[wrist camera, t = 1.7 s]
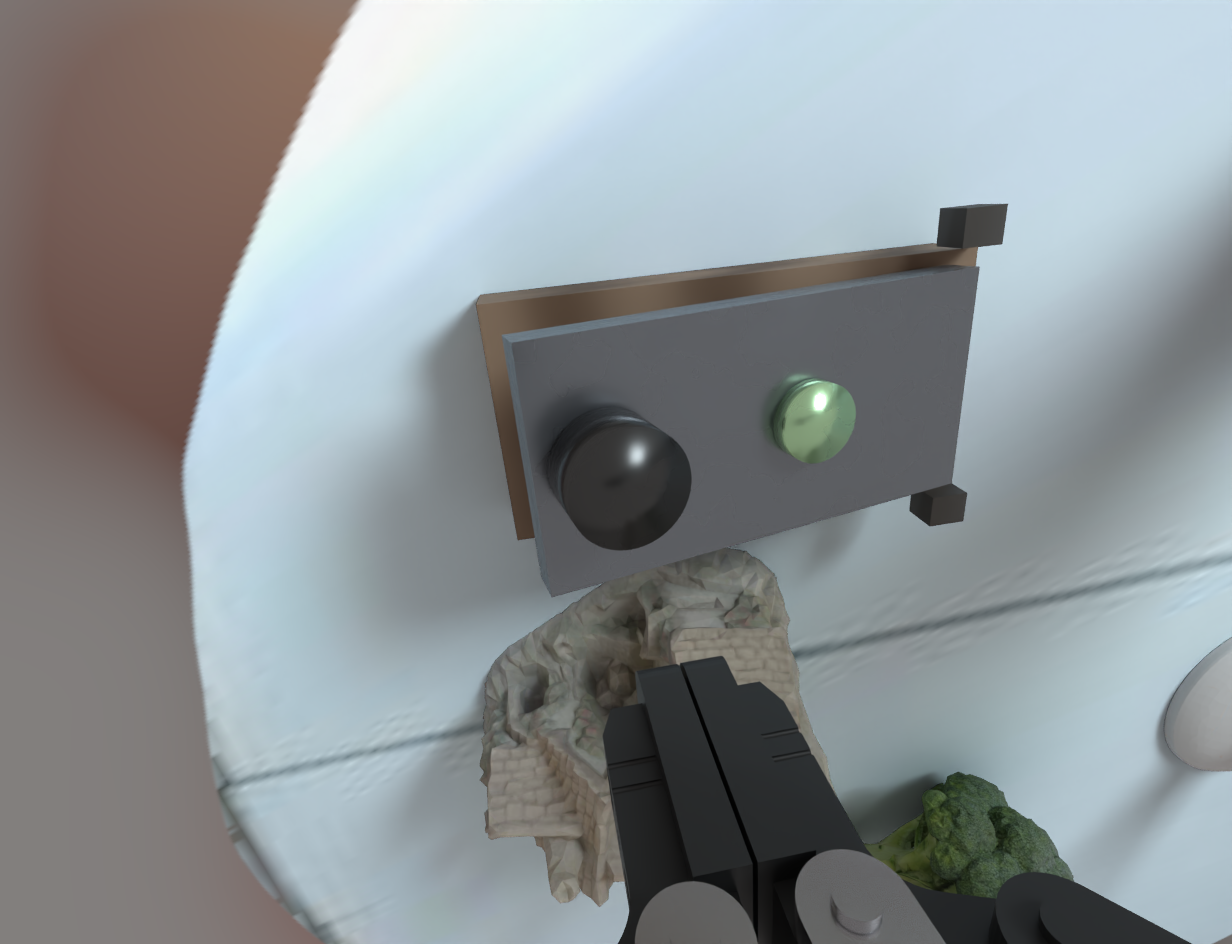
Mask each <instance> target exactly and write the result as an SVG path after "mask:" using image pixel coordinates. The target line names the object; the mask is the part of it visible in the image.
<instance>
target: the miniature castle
mask: <svg viewBox="0 0 1232 944" xmlns="http://www.w3.org/2000/svg"><path fill="white" fill-rule="evenodd" d="M789 621H790V619H789V617H788V614H787V612H786V609H785V604H784V600H783V597H782V594H781V592H780V590H779V587H778V584H777V577H775V575H774V573H773V572H771V571H770V570H769V569H768V568H767V567H766V566H765V565H764V564H763V563H762V562H761V561H760V560H759V559H757V558H755V557H752V556H751V555H750V554H749V553H748V552H747V551H742V550H734V549H729V548H723V549H719V550H716V551H712V552H709V553H705V554H702V555H698V556H695V557H691V558H688V559H684V560H681V561H677V562H674V563H670V564H667V565H663V566H660V567H656V568H653V569H649V570H646V571H642V572H639V573H635V574H632V575H628V576H625V577H621V578H618V579H614V580H610V581H607V582H605V583H603V584H602V585H601V586H600V587H599V588H595V589H594V590H593V591H591V592H590V593H588V594H587V595H585V596H584V597H582V598H581V599H580V600H579V601H578V602H575V603H572V604H571V605H570V606H569V607H568V608H567V609H566V610H564V611H563V613H561V614H558V615H556V616H555V617H554V618H553V619H550V620H549V621H547V622H546V623H544V624H543V625H541V626H540V627H538V628H536V630H534V631H533V632H532V633H529V634H528V635H526V636H525V637H524V638H522V639H520V640H519V641H517V642H515V643H514V644H512V645H510V646H509V647H508V648H507V649H506V650H505V651H504V652H503V653H502V654H501V655H500V656H499V657H498V658H497V659H496V660H495V662H494V664H493V665H492V668H491V670H490V672H489V674H488V680H487V682H486V683H485V688H486V689H485V700H486V704H487V705H486V708H485V711H484V714H483V715H484V716H483V719H484V724H483V729H484V733H485V735H484V737H483V738H482V744H483V753H482V757H481V760H480V767H481V768H482V769H483V771H484V774H483V775H482V777H481V779H480V781H481V782H482V783H483V784H484V785H485V786H487V797H488V810H487V811H486V812H485V821H486V827H485V831H486V833H488V838H489V839H491V840H492V839H496V838H500V837H522V836H534V837H535V840H536V845H537V846H539V847H542V848H543V850H544V851H545V853H546V861H547V868H548V878H549V884H550V889H551V893H552V896H554V897H555V898H556V899H557V900H558V901H559V902H560V903H565V902H570V901H571V900H573V899H574V898H575V897H576V896H577V894H578V893H579V892H580V889H581V891H582V893H584V894H585V895H587V896H588V897H590V898H591V899H592V900H593V901H594V902H595V903H596V904H597V905H598V906H599V907H600V906H601V905H602V904H603V903H605V902H606V901H607V900H608V895H609V888H610V887H611V885H612V884H613V882H619V881H624V875H623V869H622V863H621V857H620V851H619V845H618V839H617V833H616V827H615V821H614V816H613V810H612V804H611V796H610V789H609V781H608V774H607V766H606V759H605V751H604V744H603V732H604V729H605V726H606V723H607V720H608V716H609V713H610V710H611V709H613V708H619V707H624V706H630V705H635V704H638V699H637V689H636V678H635V672H636V671H639V670H645V669H650V668H656V667H661V666H667V665H673V664H678V665H680V663H683V662H688V661H694V660H699V659H705V658H711V657H716V656H723V657H724V658H725V660H726V662H727V664H728V666H729V668H730V670H731V672H732V674H733V676H734V678H735V680H736V683H737V685H742V684H748V683H753V682H759V681H760V682H761V683H762V684H764V685H765V686H766V687H767V688H768V689H770V690H771V691H772V692H773V693H775V694H776V695H777V696H778V697H779V698H781V699H782V700H783V701H784V702H785V704H786V706H787V708H788V710H789V711H790V713H791V715H792V717H793V719H794V720H795V722H796V724H797V726H798V729H799V732H800V733H802V735H803V737H804V738H805V740H806V742H807V744H808V746H809V747H810V750H811V754H812V755H814V756H815V758H816V760H817V762H818V764H819V765H820V767H821V769H822V771H823V773H824V774H825V776H826V778H827V780H828V782H829V783H830V785H831V787H832V789H833V791H834V792H835V790H834V788H833V785H832V783H831V780H830V775H829V769H828V762H827V757H826V756H825V754H824V752H823V750H822V748H821V746H820V745H819V743H818V741H817V739H816V737H815V736H814V734H813V731H812V728H811V725H810V722H809V719H808V716H807V714H806V711H805V708H804V705H803V703H802V700H801V697H800V694H799V670H798V666H797V663H796V661H795V659H794V656H793V654H792V651H791V649H790V647H789V643H788V637H787V635H788V633H787V626H788V624H789ZM835 794H836V793H835ZM836 796H837V795H836Z"/></svg>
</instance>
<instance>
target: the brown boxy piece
mask: <svg viewBox="0 0 1232 944" xmlns="http://www.w3.org/2000/svg"><path fill="white" fill-rule="evenodd" d="M1007 206H1008V204H977V205H967V206H958V207H949V208H940V217H939V227H938V237H937V244H935V243H931V244H923V245H914V246H905V247H896V248H887V249H879V250H870V251H861V252H852V253H844V254H835V255H826V256H817V257H808V258H800V259H791V260H782V261H773V262H765V263H756V264H747V265H738V266H729V267H721V268H712V269H703V270H694V271H686V272H677V273H668V274H659V275H651V276H642V277H633V278H624V279H615V280H607V281H598V282H589V283H580V284H572V285H563V286H554V287H545V288H536V289H528V290H519V291H510V292H501V293H493V294H484V295H480V297H479V299H478V301H477V304H476V307H477V313H478V319H479V324H480V330H481V336H482V341H483V347H484V353H485V358H486V364H487V370H488V375H489V381H490V386H491V392H492V398H493V403H494V409H495V415H496V420H497V426H498V432H499V437H500V443H501V449H502V454H503V460H504V465H505V471H506V477H507V482H508V488H509V494H510V499H511V505H512V511H513V516H514V522H515V528H516V533H517V539H518V540H522V539H529V538H535V535H534V529H533V523H532V517H531V511H530V505H529V499H528V493H527V487H526V480H525V474H524V468H523V462H522V456H521V450H520V444H519V438H518V432H517V426H516V420H515V414H514V407H513V401H512V395H511V389H510V383H509V377H508V371H507V365H506V359H505V353H504V347H503V341H502V335H505V334H511V333H517V332H524V331H530V330H536V329H543V328H549V327H555V326H562V325H568V324H574V323H581V322H587V321H593V320H600V319H606V318H612V317H619V316H625V315H631V314H638V313H644V312H650V311H657V310H663V309H669V308H676V307H682V306H688V305H694V304H701V303H707V302H713V301H720V300H726V299H732V298H739V297H745V296H751V295H758V294H764V293H770V292H777V291H783V290H789V289H796V288H802V287H808V286H815V285H821V284H827V283H834V282H840V281H846V280H853V279H859V278H865V277H872V276H878V275H884V274H891V273H897V272H903V271H909V270H916V269H922V268H928V267H935V266H941V265H947V264H948V265H962V266H976V258H977V250H978V247H982V246H990V245H999V244H1002V242H1003V235H1004V228H1005V221H1006V213H1007ZM966 497H967V493H966V492H965V491H963V490H961V489H960V488H958V487H957V486H955V485H953V484H952V483H951V484H947V485H944V486H940V487H937V488H933V489H930V490H926V491H923V492H919V493H916V494H912V495H911V501H910V512H912V513H913V514H914V515H916V516H917V517H918V518H919V519H921V520H922V521H923V522H925V523H926V524H927V525H929V526H936V525H942V524H948V523H954V522H961V521H963V518H964V511H965V504H966Z"/></svg>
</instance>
